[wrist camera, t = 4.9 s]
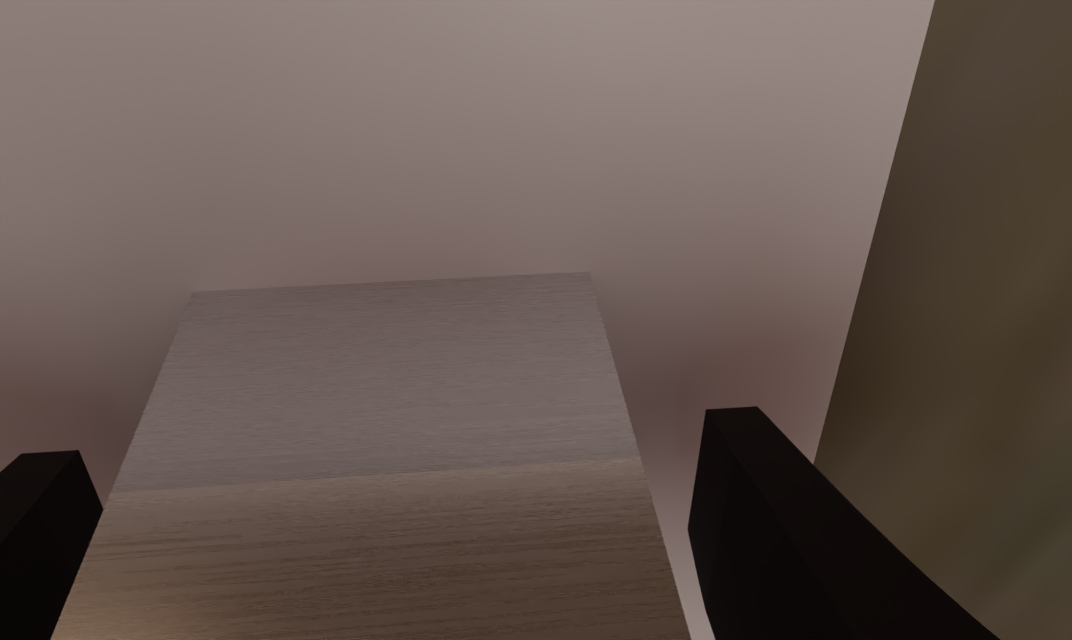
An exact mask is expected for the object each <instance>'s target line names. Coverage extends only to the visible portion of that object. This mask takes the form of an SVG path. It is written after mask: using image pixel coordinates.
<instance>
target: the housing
mask: <svg viewBox="0 0 1072 640" xmlns="http://www.w3.org/2000/svg"><path fill="white" fill-rule="evenodd" d="M50 640H691V637H690V633H689V629H688V626H687V622H686V619H685V615H684V612H683V608H682V604H681V601H680V597H679V594H678V590H677V586H676V583H675V579H674V576H673V572H672V568H671V565H670V561H669V558H668V554H667V550H666V547H665V543H664V540H663V536H662V533H661V529H660V525H659V522H658V518H657V515H656V511H655V507H654V504H653V500H652V497H651V493H650V489H649V486H648V482H647V479H646V475H645V471H644V468H643V464H642V461H641V457H640V454H639V450H638V446H637V443H636V439H635V436H634V432H633V428H632V425H631V421H630V418H629V414H628V410H627V407H626V403H625V400H624V396H623V392H622V389H621V385H620V382H619V378H618V374H617V371H616V367H615V364H614V360H613V357H612V353H611V349H610V346H609V342H608V339H607V335H606V331H605V328H604V324H603V321H602V317H601V313H600V310H599V306H598V303H597V299H596V295H595V292H594V288H593V285H592V281H591V278H590V274H589V272H572V273H552V274H533V275H513V276H493V277H474V278H454V279H434V280H415V281H395V282H375V283H356V284H336V285H316V286H296V287H277V288H257V289H237V290H218V291H198V292H193V293H192V295H191V298H190V300H189V303H188V305H187V308H186V310H185V313H184V315H183V317H182V320H181V322H180V325H179V327H178V330H177V332H176V334H175V337H174V339H173V342H172V344H171V347H170V349H169V352H168V354H167V356H166V359H165V361H164V364H163V366H162V369H161V371H160V373H159V376H158V378H157V381H156V383H155V386H154V388H153V391H152V393H151V395H150V398H149V400H148V403H147V405H146V408H145V410H144V413H143V415H142V417H141V420H140V422H139V425H138V427H137V430H136V432H135V434H134V437H133V439H132V442H131V444H130V447H129V449H128V452H127V454H126V456H125V459H124V461H123V464H122V466H121V469H120V471H119V473H118V476H117V478H116V481H115V483H114V486H113V488H112V491H111V493H110V495H109V498H108V500H107V503H106V505H105V508H104V510H103V512H102V515H101V517H100V520H99V522H98V525H97V527H96V530H95V532H94V534H93V537H92V539H91V542H90V544H89V547H88V549H87V551H86V554H85V556H84V559H83V561H82V564H81V566H80V569H79V571H78V573H77V576H76V578H75V581H74V583H73V586H72V588H71V590H70V593H69V595H68V598H67V600H66V603H65V605H64V608H63V610H62V612H61V615H60V617H59V620H58V622H57V625H56V627H55V630H54V632H53V634H52V637H51V639H50Z"/></svg>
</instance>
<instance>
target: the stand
mask: <svg viewBox="0 0 1072 640" xmlns="http://www.w3.org/2000/svg"><path fill="white" fill-rule="evenodd" d="M934 1H935V0H0V472H1V471H2V470H3V469H4V468H5V467H6V466H8V465H9V464H10V463H11V462H12V461H13V460H14V459H16V458H17V457H18V456H19V455H20V454H22V453H38V452H53V451H69V450H79V451H80V454H81V456H82V459H83V461H84V463H85V466H86V468H87V471H88V473H89V475H90V478H91V480H92V483H93V485H94V487H95V490H96V492H97V494H98V497H99V499H100V502H101V504H102V506H103V509H104V508H105V505H106V503H107V500H108V498H109V495H110V493H111V491H112V488H113V486H114V483H115V481H116V478H117V476H118V473H119V471H120V469H121V466H122V464H123V461H124V459H125V456H126V454H127V452H128V449H129V447H130V444H131V442H132V439H133V437H134V434H135V432H136V430H137V427H138V425H139V422H140V420H141V417H142V415H143V413H144V410H145V408H146V405H147V403H148V400H149V398H150V395H151V393H152V391H153V388H154V386H155V383H156V381H157V378H158V376H159V373H160V371H161V369H162V366H163V364H164V361H165V359H166V356H167V354H168V352H169V349H170V347H171V344H172V342H173V339H174V337H175V334H176V332H177V330H178V327H179V325H180V322H181V320H182V317H183V315H184V313H185V310H186V308H187V305H188V303H189V300H190V298H191V295H192V293H193V292H198V291H218V290H237V289H257V288H277V287H296V286H316V285H336V284H356V283H375V282H395V281H415V280H434V279H454V278H474V277H493V276H513V275H533V274H552V273H572V272H589V274H590V278H591V281H592V285H593V288H594V292H595V295H596V299H597V303H598V306H599V310H600V313H601V317H602V321H603V324H604V328H605V331H606V335H607V339H608V342H609V346H610V349H611V353H612V357H613V360H614V364H615V367H616V371H617V374H618V378H619V382H620V385H621V389H622V392H623V396H624V400H625V403H626V407H627V410H628V414H629V418H630V421H631V425H632V428H633V432H634V436H635V439H636V443H637V446H638V450H639V454H640V457H641V461H642V464H643V468H644V471H645V475H646V479H647V482H648V486H649V489H650V493H651V497H652V500H653V504H654V507H655V511H656V515H657V518H658V522H659V525H660V529H661V533H662V536H663V540H664V543H665V547H666V550H667V554H668V558H669V561H670V565H671V568H672V572H673V576H674V579H675V583H676V586H677V590H678V594H679V597H680V601H681V604H682V608H683V612H684V615H685V619H686V622H687V626H688V629H689V633H690V637H691V640H715V637H714V634H713V632H712V629H711V626H710V623H709V620H708V617H707V614H706V611H705V607H704V602H703V598H702V594H701V590H700V585H699V581H698V577H697V572H696V568H695V563H694V558H693V553H692V549H691V544H690V539H689V535H688V530H687V528H688V522H689V515H690V509H691V502H692V496H693V489H694V483H695V476H696V470H697V463H698V457H699V450H700V444H701V437H702V431H703V424H704V417H705V411H706V409H720V408H736V407H751V406H757V407H758V408H759V409H761V410H762V411H763V412H764V413H765V414H766V415H767V416H768V418H769V419H770V420H771V421H772V422H773V423H774V424H775V425H776V426H777V427H778V428H779V429H780V430H781V431H782V432H783V433H784V434H785V435H786V436H787V437H788V439H789V440H790V441H791V442H792V443H793V444H794V445H795V446H796V447H797V448H798V449H799V450H800V451H801V452H802V453H803V454H804V455H805V456H806V457H807V459H808V460H809V461H810V462H811V463H812V464H813V463H814V460H815V456H816V452H817V448H818V444H819V440H820V437H821V433H822V429H823V425H824V421H825V418H826V414H827V410H828V406H829V402H830V398H831V395H832V391H833V387H834V383H835V379H836V376H837V372H838V368H839V364H840V360H841V356H842V353H843V349H844V345H845V341H846V337H847V334H848V330H849V326H850V322H851V318H852V314H853V311H854V307H855V303H856V299H857V295H858V292H859V288H860V284H861V280H862V276H863V272H864V269H865V265H866V261H867V257H868V253H869V249H870V246H871V242H872V238H873V234H874V230H875V227H876V223H877V219H878V215H879V211H880V207H881V204H882V200H883V196H884V192H885V188H886V185H887V181H888V177H889V173H890V169H891V165H892V162H893V158H894V154H895V150H896V146H897V143H898V139H899V135H900V131H901V127H902V123H903V120H904V116H905V112H906V108H907V104H908V101H909V97H910V93H911V89H912V85H913V81H914V78H915V74H916V70H917V66H918V62H919V59H920V55H921V51H922V47H923V43H924V39H925V36H926V32H927V28H928V24H929V20H930V17H931V13H932V9H933V5H934Z"/></svg>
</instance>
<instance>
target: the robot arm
mask: <svg viewBox="0 0 1072 640" xmlns="http://www.w3.org/2000/svg"><path fill="white" fill-rule="evenodd" d="M103 510H104V509H103V506H102V504H101V502H100V499H99V497H98V494H97V492H96V490H95V487H94V485H93V483H92V480H91V478H90V475H89V473H88V471H87V468H86V466H85V463H84V461H83V459H82V456H81V454H80V451H79V450H69V451H53V452H38V453H22V454H20V455H19V456H18V457H17V458H16V459H14V460H13V461H12V462H11V463H10V464H9V465H8V466H6V467H5V468H4V469H3V470H2V471H1V472H0V640H50V639H51V637H52V634H53V632H54V630H55V627H56V625H57V622H58V620H59V617H60V615H61V612H62V610H63V608H64V605H65V603H66V600H67V598H68V595H69V593H70V590H71V588H72V586H73V583H74V581H75V578H76V576H77V573H78V571H79V569H80V566H81V564H82V561H83V559H84V556H85V554H86V551H87V549H88V547H89V544H90V542H91V539H92V537H93V534H94V532H95V530H96V527H97V525H98V522H99V520H100V517H101V515H102V512H103ZM687 530H688V535H689V539H690V544H691V549H692V553H693V558H694V563H695V568H696V572H697V577H698V581H699V585H700V590H701V594H702V598H703V602H704V607H705V611H706V614H707V617H708V620H709V623H710V626H711V629H712V632H713V634H714V637H715V640H1000V639H999V638H998V637H996V636H995V635H994V634H993V633H991V632H990V631H989V630H988V629H987V628H985V627H984V626H983V625H982V624H981V623H979V622H978V621H977V620H976V619H975V618H974V617H972V616H971V615H970V614H969V613H968V612H967V611H966V610H964V609H963V608H962V607H961V606H960V605H959V604H958V603H957V602H955V601H954V600H953V599H952V598H951V597H950V596H949V595H947V594H946V593H945V592H944V591H943V590H942V589H941V588H940V587H938V586H937V585H936V584H935V583H934V582H933V581H932V580H931V579H929V578H928V577H927V576H926V575H925V574H924V573H923V572H922V571H921V570H920V569H919V568H918V567H916V566H915V565H914V564H913V563H912V562H911V561H910V560H909V559H908V558H907V557H906V556H905V555H904V554H902V553H901V552H900V551H899V550H898V549H897V548H896V547H895V546H894V545H893V544H892V543H891V542H890V541H889V540H888V539H887V538H886V537H885V536H884V535H883V534H882V533H881V532H880V531H879V530H878V529H877V528H876V527H875V526H874V525H873V524H872V523H870V522H869V521H868V520H867V519H866V518H865V517H864V516H863V515H862V514H861V513H860V512H859V511H858V510H857V509H856V508H855V507H854V506H853V505H852V504H851V503H850V502H849V501H848V500H847V499H846V498H845V497H844V496H843V495H842V494H841V493H840V492H839V491H838V490H837V489H836V488H835V487H834V486H833V484H832V483H831V482H830V481H829V480H828V479H827V478H826V477H825V476H824V475H823V474H822V473H821V472H820V471H819V470H818V469H817V468H816V467H815V466H814V465H813V464H812V463H811V462H810V461H809V460H808V459H807V457H806V456H805V455H804V454H803V453H802V452H801V451H800V450H799V449H798V448H797V447H796V446H795V445H794V444H793V443H792V442H791V441H790V440H789V439H788V437H787V436H786V435H785V434H784V433H783V432H782V431H781V430H780V429H779V428H778V427H777V426H776V425H775V424H774V423H773V422H772V421H771V420H770V419H769V418H768V416H767V415H766V414H765V413H764V412H763V411H762V410H761V409H759V408H758V407H757V406H751V407H736V408H720V409H706V411H705V417H704V424H703V431H702V437H701V444H700V450H699V457H698V463H697V470H696V476H695V483H694V489H693V496H692V502H691V509H690V515H689V522H688V528H687Z"/></svg>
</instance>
